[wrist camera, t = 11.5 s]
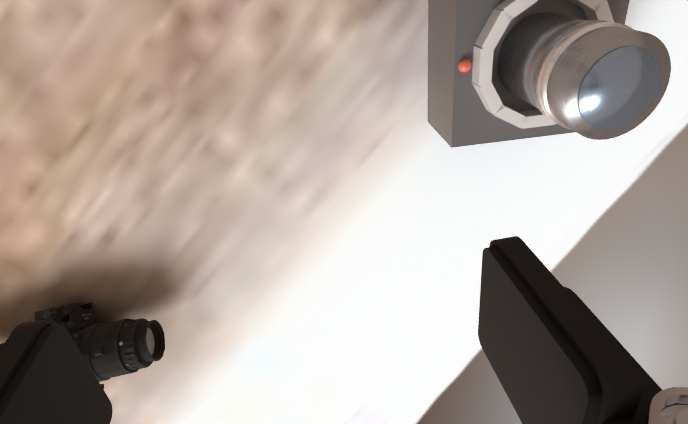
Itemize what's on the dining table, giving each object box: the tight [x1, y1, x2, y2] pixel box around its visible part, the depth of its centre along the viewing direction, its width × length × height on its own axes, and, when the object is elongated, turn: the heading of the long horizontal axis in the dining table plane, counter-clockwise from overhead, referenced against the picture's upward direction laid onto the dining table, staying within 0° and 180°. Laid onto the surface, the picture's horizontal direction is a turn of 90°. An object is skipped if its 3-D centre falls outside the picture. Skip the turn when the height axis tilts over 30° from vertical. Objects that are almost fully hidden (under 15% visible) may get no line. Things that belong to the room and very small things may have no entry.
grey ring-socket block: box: [428, 0, 629, 147], centre depth 29 cm, size 14×11×8 cm
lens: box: [497, 12, 671, 140], centre depth 25 cm, size 6×6×8 cm
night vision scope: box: [0, 303, 165, 389], centre depth 39 cm, size 8×18×10 cm
